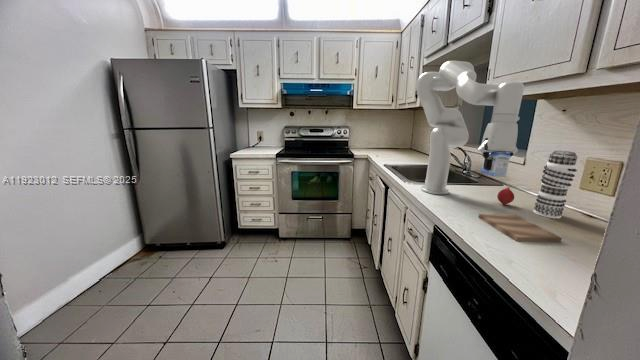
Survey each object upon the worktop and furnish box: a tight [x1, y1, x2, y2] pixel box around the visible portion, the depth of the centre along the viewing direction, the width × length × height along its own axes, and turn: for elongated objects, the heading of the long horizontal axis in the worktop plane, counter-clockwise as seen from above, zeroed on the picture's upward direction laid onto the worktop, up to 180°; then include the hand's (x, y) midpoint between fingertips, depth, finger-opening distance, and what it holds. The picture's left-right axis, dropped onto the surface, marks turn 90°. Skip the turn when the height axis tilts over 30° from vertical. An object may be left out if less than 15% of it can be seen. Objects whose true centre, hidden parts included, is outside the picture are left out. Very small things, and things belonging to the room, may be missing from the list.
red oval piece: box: [497, 186, 515, 206], centre depth 108 cm, size 6×6×8 cm
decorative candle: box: [532, 150, 579, 219], centre depth 96 cm, size 9×9×25 cm
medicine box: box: [480, 150, 511, 178], centre depth 93 cm, size 8×4×9 cm, turn 178°
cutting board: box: [478, 213, 563, 243], centre depth 85 cm, size 18×14×2 cm
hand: (493, 169), depth 94 cm, fingers closed on medicine box, 4 cm apart
